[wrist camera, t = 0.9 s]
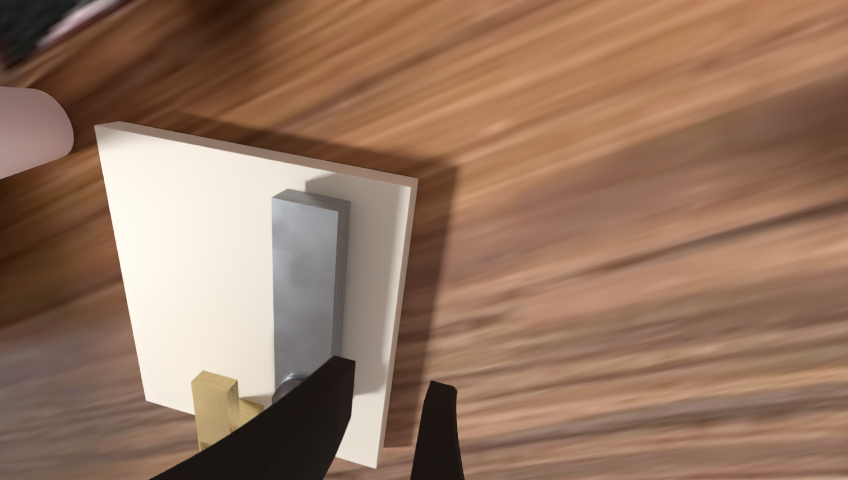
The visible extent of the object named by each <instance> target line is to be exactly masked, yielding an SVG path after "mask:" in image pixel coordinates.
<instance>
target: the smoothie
mask: <svg viewBox="0 0 848 480" xmlns="http://www.w3.org/2000/svg"><path fill="white" fill-rule="evenodd" d="M73 142H74V134H73V129H72V125H71V122H70V120H69V118H68V116H67V114H66V112H65V111H64V109H63V108H62V107H61V105H60V104H59V103H58V102H57V101H56V100H55V99H54V98H53V97H51V96H50V95H49V94H47V93H45V92H43V91H41V90H38V89H31V88H15V87H0V179H2V178H5V177H8V176H11V175H13V174H16V173H19V172H22V171H25V170H28V169H30V168H33V167H36V166H39V165H42V164H45V163H47V162H50V161H53V160H56V159H59V158H62V157H64V156H66V155H67V154H68V153H69V152H70V151H71V149H72V147H73Z"/></svg>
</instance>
